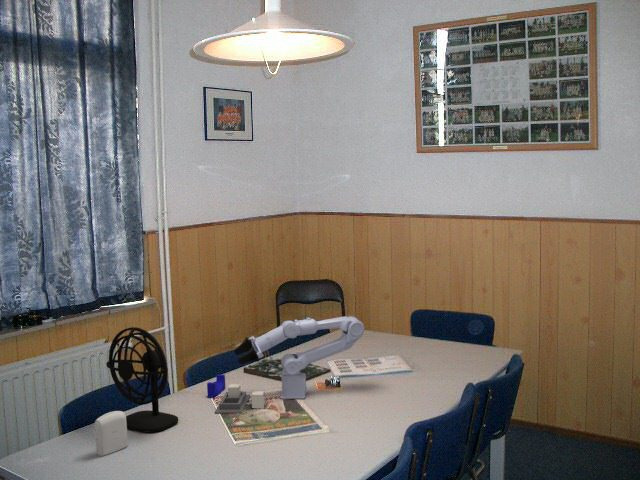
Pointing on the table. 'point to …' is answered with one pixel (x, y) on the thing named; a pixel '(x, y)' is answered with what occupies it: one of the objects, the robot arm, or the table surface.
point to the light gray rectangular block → (258, 399)
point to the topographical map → (274, 368)
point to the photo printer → (111, 432)
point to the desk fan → (151, 363)
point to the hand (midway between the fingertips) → (236, 357)
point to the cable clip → (216, 386)
